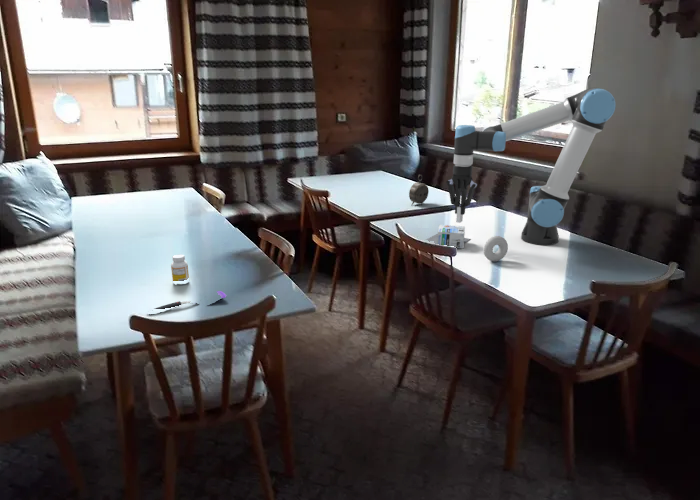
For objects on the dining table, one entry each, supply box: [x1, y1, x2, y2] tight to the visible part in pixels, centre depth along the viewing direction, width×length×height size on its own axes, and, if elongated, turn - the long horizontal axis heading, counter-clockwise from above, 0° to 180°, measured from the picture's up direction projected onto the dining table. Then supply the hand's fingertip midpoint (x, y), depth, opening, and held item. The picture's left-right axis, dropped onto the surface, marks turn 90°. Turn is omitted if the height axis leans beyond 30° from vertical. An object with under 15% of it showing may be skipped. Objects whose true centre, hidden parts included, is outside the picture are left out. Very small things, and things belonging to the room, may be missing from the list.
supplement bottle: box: [170, 254, 190, 282], centre depth 190 cm, size 5×5×10 cm
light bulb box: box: [437, 224, 466, 249], centre depth 231 cm, size 11×7×11 cm
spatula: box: [154, 290, 227, 309], centre depth 173 cm, size 24×7×2 cm, turn 120°
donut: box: [483, 235, 509, 262], centre depth 211 cm, size 10×4×10 cm, turn 109°
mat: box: [425, 233, 471, 244], centre depth 236 cm, size 15×16×1 cm
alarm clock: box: [408, 174, 429, 206], centre depth 294 cm, size 11×5×16 cm, turn 130°
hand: (459, 221), depth 230 cm, fingers closed
